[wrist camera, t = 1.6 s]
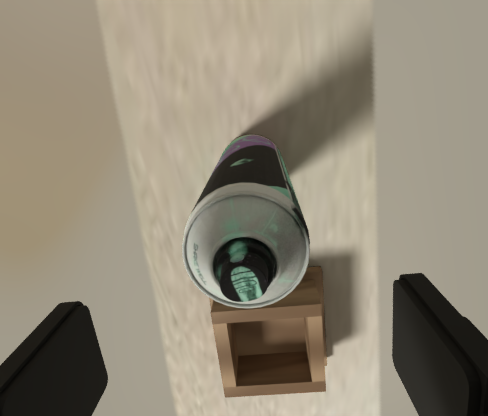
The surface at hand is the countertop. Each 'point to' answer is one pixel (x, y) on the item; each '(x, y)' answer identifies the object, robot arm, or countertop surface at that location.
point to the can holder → (274, 342)
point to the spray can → (247, 229)
